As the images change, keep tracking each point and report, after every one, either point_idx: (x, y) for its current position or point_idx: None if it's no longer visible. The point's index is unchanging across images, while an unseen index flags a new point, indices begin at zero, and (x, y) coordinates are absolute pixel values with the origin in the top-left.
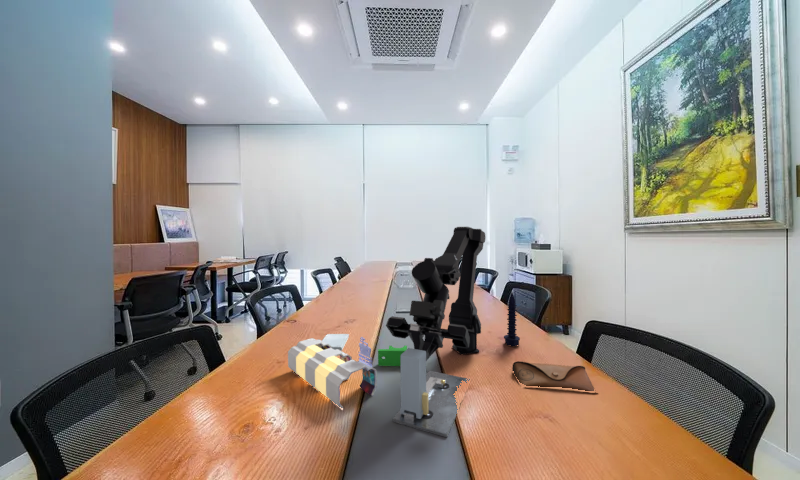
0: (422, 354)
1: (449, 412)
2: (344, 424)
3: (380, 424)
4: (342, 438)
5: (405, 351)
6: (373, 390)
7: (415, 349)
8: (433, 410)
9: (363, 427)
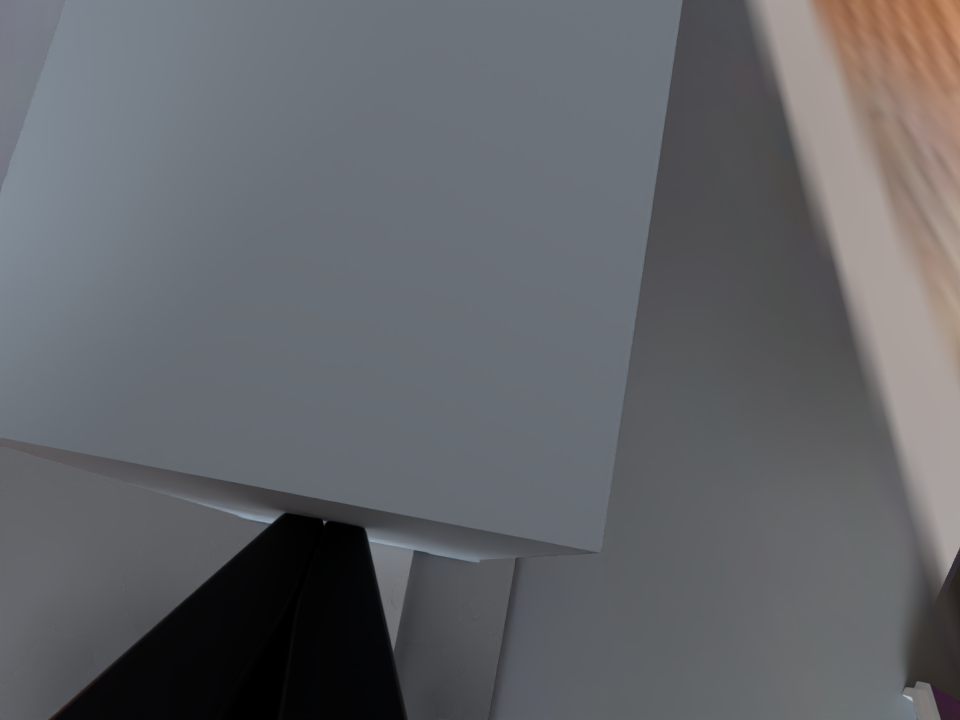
0: (35, 120)
1: (2, 520)
2: (935, 193)
3: (650, 252)
4: (865, 49)
5: (619, 246)
6: (934, 715)
7: (325, 477)
8: (180, 515)
9: (771, 189)
